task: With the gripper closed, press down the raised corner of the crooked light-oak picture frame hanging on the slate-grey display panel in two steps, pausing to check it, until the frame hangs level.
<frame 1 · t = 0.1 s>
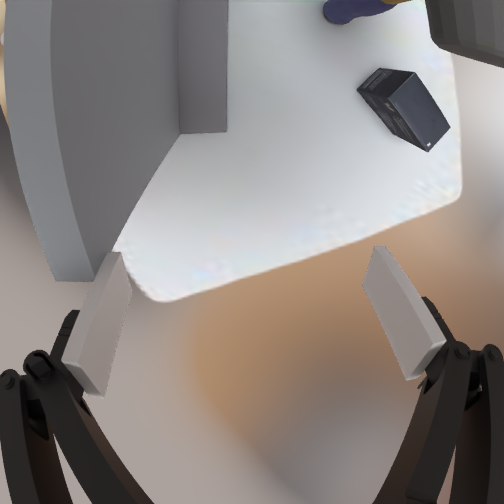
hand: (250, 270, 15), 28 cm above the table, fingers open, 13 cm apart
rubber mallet: (333, 13, 28), on the table
frame: (40, 22, 14), point 14 cm above the table, hinge at 18.0°
box: (386, 101, 35), on the table
display panel: (170, 33, 28), on the table
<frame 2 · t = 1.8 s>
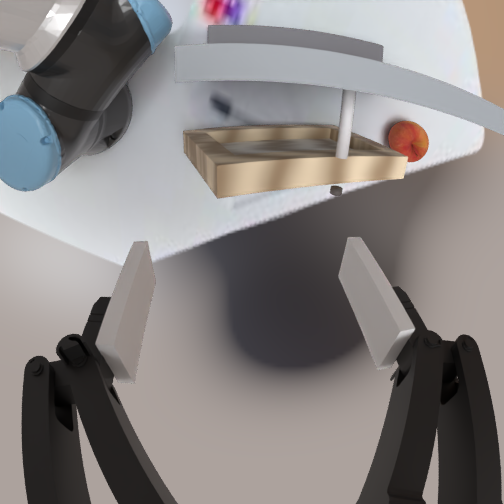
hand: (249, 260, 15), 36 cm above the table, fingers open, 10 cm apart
frame: (297, 153, 34), point 14 cm above the table, hinge at 18.0°
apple: (396, 134, 47), on the table
display panel: (297, 71, 40), on the table
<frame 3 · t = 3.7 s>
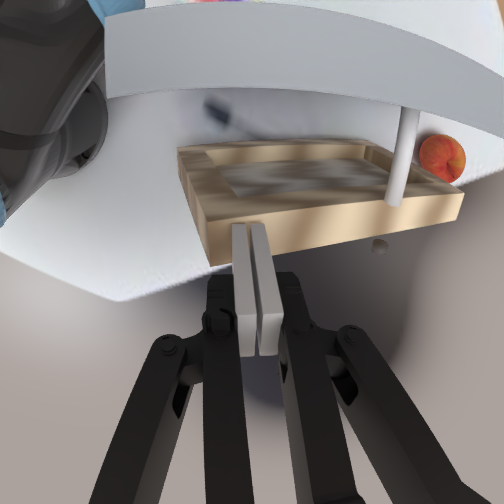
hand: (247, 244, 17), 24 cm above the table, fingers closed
frame: (325, 183, 25), point 14 cm above the table, hinge at 14.4°, touching gripper
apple: (427, 149, 38), on the table
display panel: (314, 69, 31), on the table
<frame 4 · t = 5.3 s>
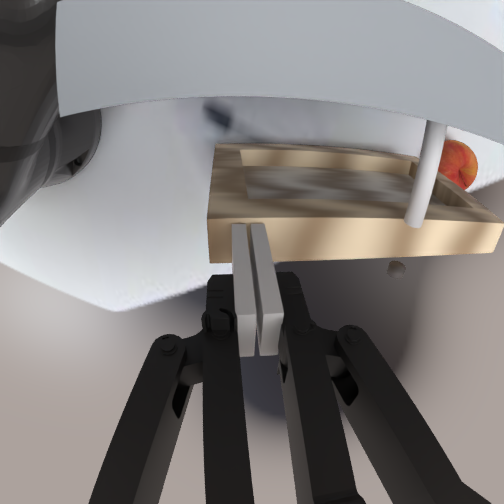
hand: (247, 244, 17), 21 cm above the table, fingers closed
frame: (357, 195, 24), point 14 cm above the table, hinge at 0.3°, touching gripper
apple: (437, 155, 36), on the table
display panel: (321, 70, 29), on the table
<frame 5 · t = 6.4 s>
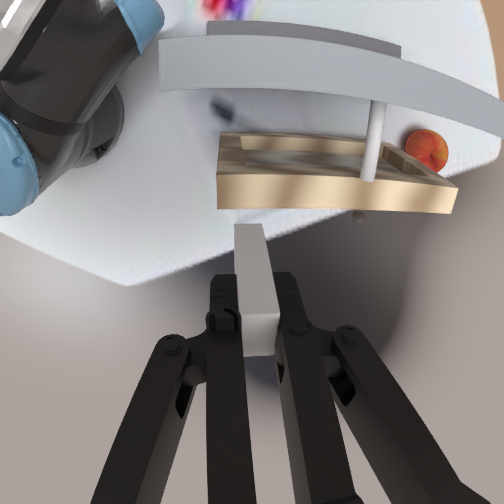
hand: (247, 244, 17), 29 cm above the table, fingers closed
frame: (332, 168, 30), point 14 cm above the table, hinge at 0.3°
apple: (413, 143, 42), on the table
display panel: (308, 72, 35), on the table
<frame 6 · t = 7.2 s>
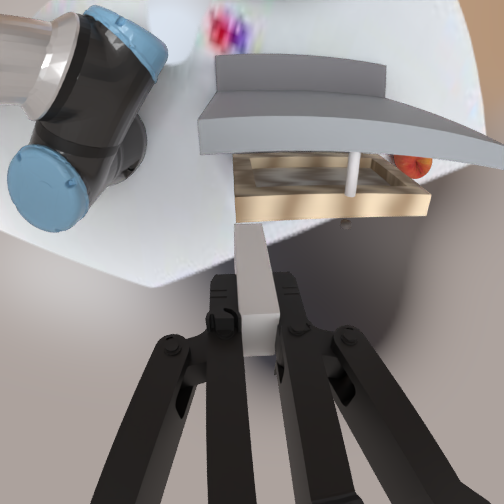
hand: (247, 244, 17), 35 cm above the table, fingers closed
frame: (326, 183, 37), point 14 cm above the table, hinge at 0.3°
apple: (401, 151, 49), on the table
display panel: (304, 96, 43), on the table
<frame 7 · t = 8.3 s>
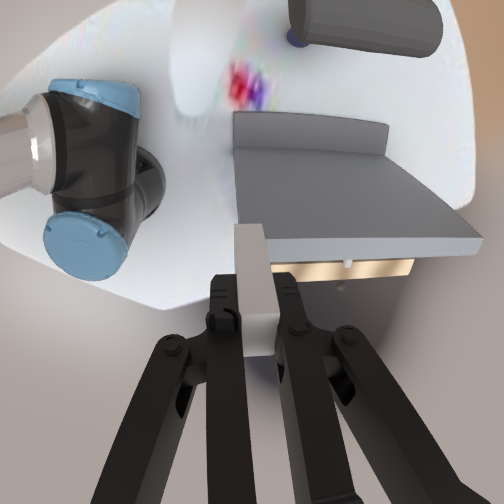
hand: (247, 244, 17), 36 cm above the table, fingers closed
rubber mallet: (297, 37, 38), on the table
frame: (326, 243, 45), point 14 cm above the table, hinge at 0.3°
display panel: (312, 153, 50), on the table
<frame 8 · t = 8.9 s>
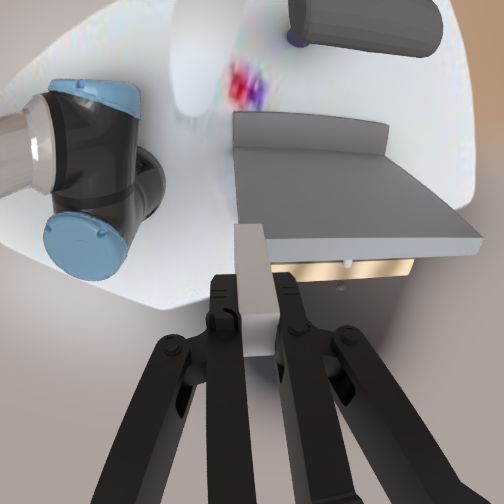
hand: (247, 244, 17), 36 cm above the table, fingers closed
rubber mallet: (297, 37, 38), on the table
frame: (326, 243, 45), point 14 cm above the table, hinge at 0.3°
display panel: (312, 153, 50), on the table
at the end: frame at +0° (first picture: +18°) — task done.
